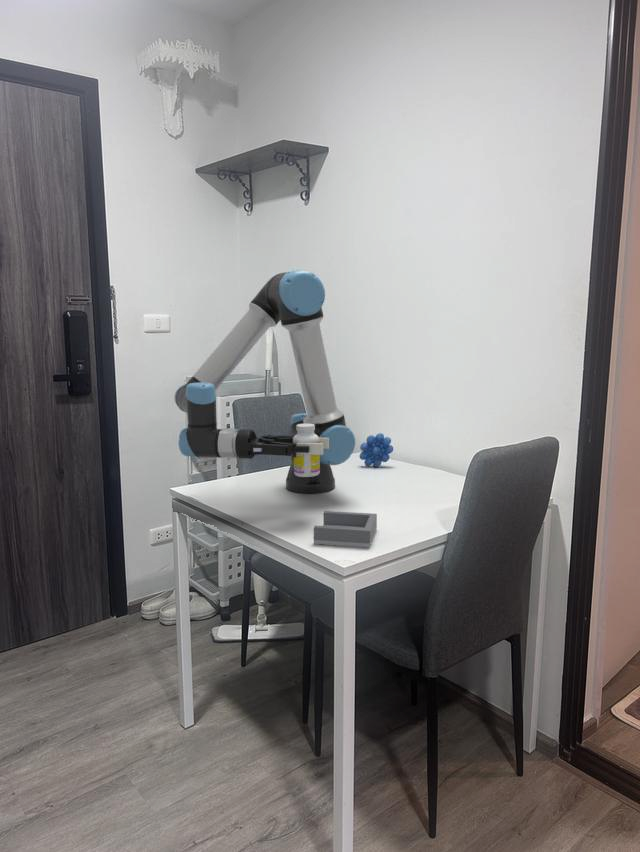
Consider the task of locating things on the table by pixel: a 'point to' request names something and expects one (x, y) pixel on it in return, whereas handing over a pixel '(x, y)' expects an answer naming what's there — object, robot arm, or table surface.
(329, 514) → the gray open-sided tray
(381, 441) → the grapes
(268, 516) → the table surface
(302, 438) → the supplement bottle
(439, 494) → the table surface
